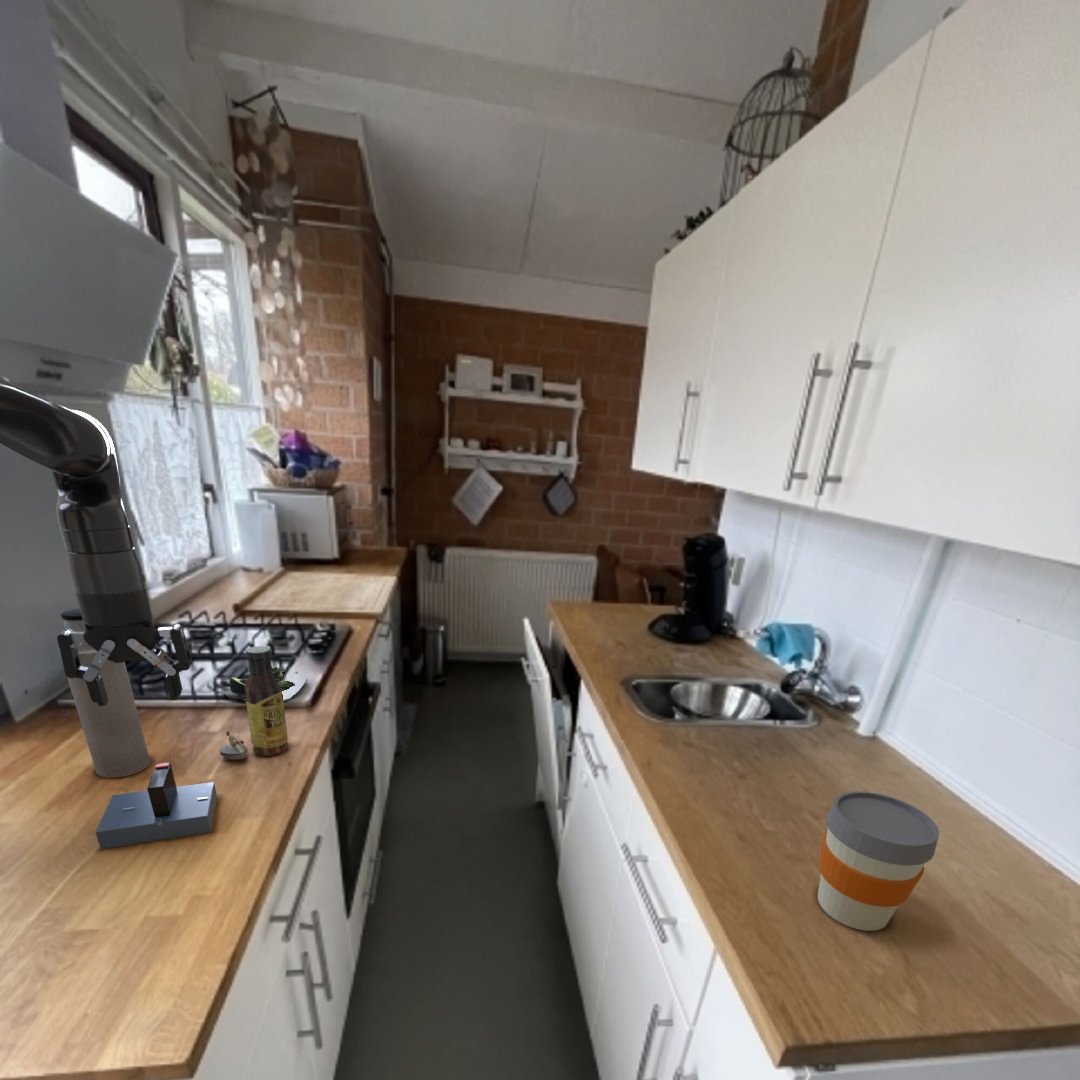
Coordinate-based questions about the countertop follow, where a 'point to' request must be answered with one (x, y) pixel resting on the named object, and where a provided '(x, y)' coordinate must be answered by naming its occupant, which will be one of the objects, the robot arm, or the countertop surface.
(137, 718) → the thermos bottle
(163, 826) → the rotary switch base
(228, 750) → the figurine
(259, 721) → the sauce bottle
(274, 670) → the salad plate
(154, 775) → the black and red block
